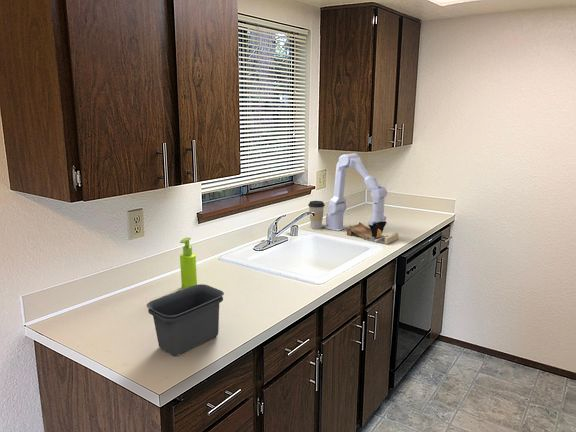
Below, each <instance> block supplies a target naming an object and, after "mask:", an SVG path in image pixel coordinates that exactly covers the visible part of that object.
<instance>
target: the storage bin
mask: <svg viewBox="0 0 576 432" xmlns="http://www.w3.org/2000/svg"><path fill="white" fill-rule="evenodd" d="M224 294H225V292H224V291H222V290H221V289H218V288H215V287H213V286H211V285H208V284H203V283H200V284H197V285H194V286H190V287H188V288H185V289H182V288H181V289H180V290H177V291H175V292H171V293H169V294H166V295H164V296H161V297H158V298H155V299H153V300H151V301H149V302H147V304H146V308H148V309H147V310H148V311H147V312H148V314H150V315H151V316H152V317H153V322H154V329H155V334H156V339H157V343H158V346H159V348H160V349H162V350H164V351H165V352H166V353H169V354H170V355H172V356H175V357H176V355H177V356H179V355H181V354H183V353H185V352H187V351H189V350H192V349H193V348H196V347H197V346H200V345H201V344H203V343H205V342H207V341H209V339H210V340H211V339H213V338H215V337H217V336H218V335H219V327H220V325H219V324H220V303H222V302H223V301H224ZM178 354H179V355H178Z"/></svg>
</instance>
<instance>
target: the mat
mask: <svg viewBox="0 0 576 432" xmlns="http://www.w3.org/2000/svg"><path fill="white" fill-rule="evenodd" d="M363 240H364V241H368V242H372V243H376V244H377V243H378V244H383V245H386V246H387V245H388V244H391V243H394V242H395V241H397V240H399V232H398V233H397V232H395V233H392V234H390V235H383V234H382V235H381V237H380V238H375V237H369V239H366V238H365V239H363Z"/></svg>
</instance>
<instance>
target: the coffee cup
mask: <svg viewBox="0 0 576 432" xmlns="http://www.w3.org/2000/svg"><path fill="white" fill-rule="evenodd" d="M307 206H308V207H309V211H308V212H315V216H310V215H309V221H310V228H311V229H313V230H319V229H322V224H323V220H324V209H325V206H326V205H325V203H324V201H322V200H312V201H309V203H308V204H307Z"/></svg>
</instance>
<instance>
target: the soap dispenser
mask: <svg viewBox="0 0 576 432" xmlns="http://www.w3.org/2000/svg"><path fill="white" fill-rule="evenodd" d="M190 240H192V239H191V237H184V238H182V239H181V240H180V241H179V243H181V244H184V245H183V246H182V253H181V254H179V261H180V262H179V263H180V277H181V278H180V280H181V282H180V283H181V290H182V289H185V288H188V287H190V286H194V285H198V280H197V279H198V278H197V259H196V258H197V255H196V254H195V253H194V252H193V247H192V245H191V244H190Z"/></svg>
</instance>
